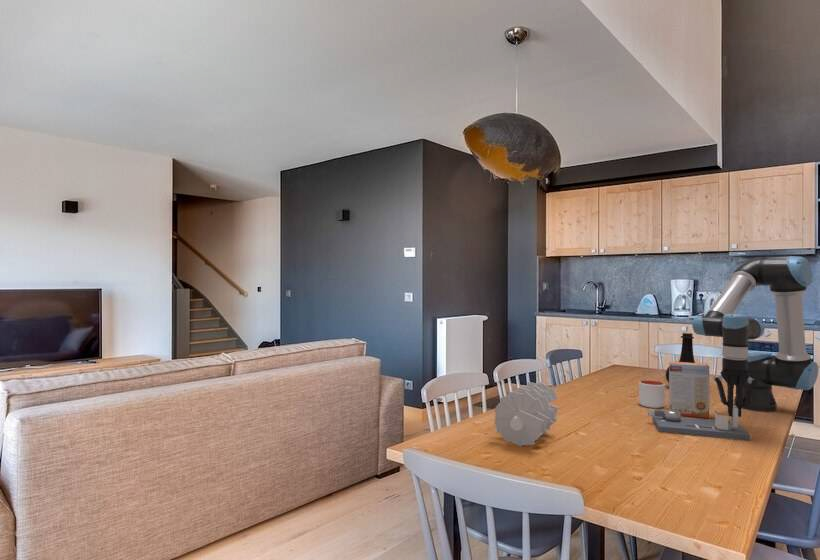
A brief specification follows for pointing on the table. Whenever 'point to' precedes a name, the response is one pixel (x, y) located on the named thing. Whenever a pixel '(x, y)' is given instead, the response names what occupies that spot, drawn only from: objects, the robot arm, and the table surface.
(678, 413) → the dial
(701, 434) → the console
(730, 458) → the table surface
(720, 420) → the block
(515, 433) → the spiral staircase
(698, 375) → the cracker box
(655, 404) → the cup
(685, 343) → the glass bottle
